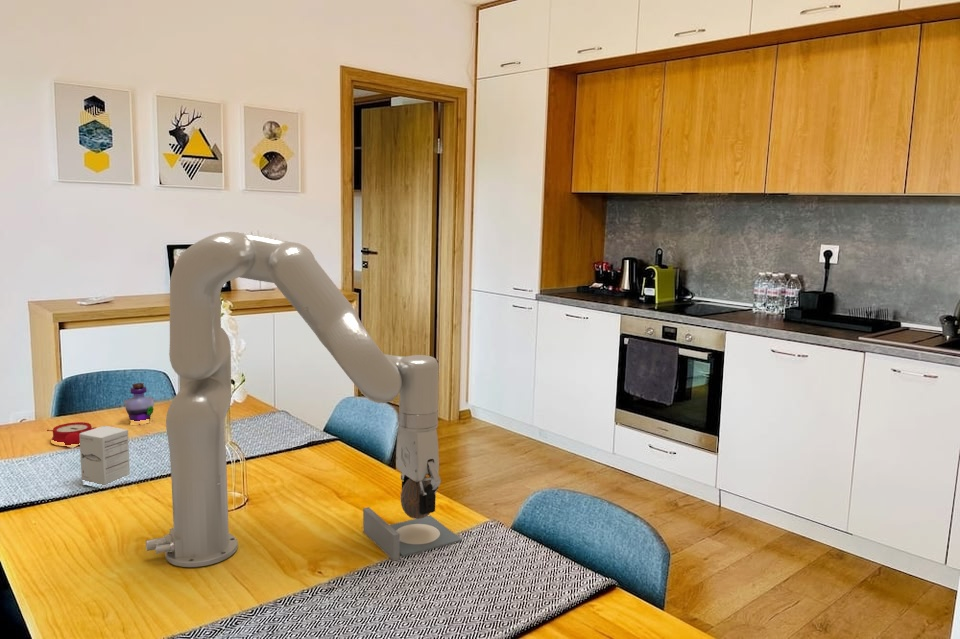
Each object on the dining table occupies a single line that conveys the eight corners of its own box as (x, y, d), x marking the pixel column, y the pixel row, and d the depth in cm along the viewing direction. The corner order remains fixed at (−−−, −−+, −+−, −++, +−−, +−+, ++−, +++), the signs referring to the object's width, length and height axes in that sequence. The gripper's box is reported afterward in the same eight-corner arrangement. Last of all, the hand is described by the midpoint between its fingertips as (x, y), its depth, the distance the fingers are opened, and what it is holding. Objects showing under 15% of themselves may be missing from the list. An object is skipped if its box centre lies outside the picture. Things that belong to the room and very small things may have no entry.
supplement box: (80, 486, 162) (77, 433, 160) (108, 475, 168) (105, 424, 167) (104, 491, 159) (101, 437, 157) (131, 480, 166) (128, 428, 164)
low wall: (393, 561, 130) (393, 535, 129) (363, 531, 142) (363, 508, 141) (399, 559, 131) (399, 533, 130) (368, 530, 142) (368, 507, 142)
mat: (402, 557, 132) (402, 554, 132) (373, 530, 142) (373, 528, 142) (462, 541, 139) (462, 539, 139) (430, 517, 149) (430, 515, 149)
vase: (430, 523, 136) (430, 480, 135) (395, 520, 137) (396, 477, 136) (439, 509, 143) (439, 468, 141) (406, 506, 144) (406, 464, 143)
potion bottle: (151, 426, 207) (149, 386, 205) (120, 427, 206) (117, 387, 204) (159, 418, 216) (157, 379, 214) (128, 419, 214) (126, 380, 212)
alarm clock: (78, 420, 200) (107, 417, 192) (82, 441, 200) (111, 439, 192) (39, 429, 191) (69, 426, 183) (44, 451, 191) (73, 450, 184)
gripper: (382, 410, 142) (382, 494, 145) (422, 433, 128) (421, 526, 130) (415, 406, 146) (414, 487, 149) (457, 427, 132) (456, 517, 134)
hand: (418, 505), depth 140 cm, fingers closed on vase, 6 cm apart
